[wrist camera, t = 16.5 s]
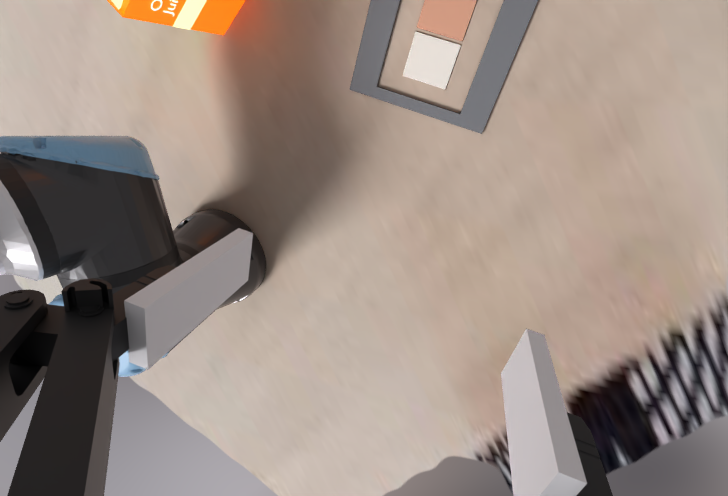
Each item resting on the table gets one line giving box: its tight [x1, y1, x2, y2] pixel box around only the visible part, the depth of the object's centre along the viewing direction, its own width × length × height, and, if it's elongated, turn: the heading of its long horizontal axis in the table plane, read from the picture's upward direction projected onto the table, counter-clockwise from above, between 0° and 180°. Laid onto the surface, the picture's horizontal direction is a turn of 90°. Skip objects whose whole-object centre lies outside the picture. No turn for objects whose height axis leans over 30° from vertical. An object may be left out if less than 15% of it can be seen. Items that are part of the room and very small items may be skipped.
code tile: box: [350, 0, 538, 134], centre depth 39 cm, size 16×15×1 cm
